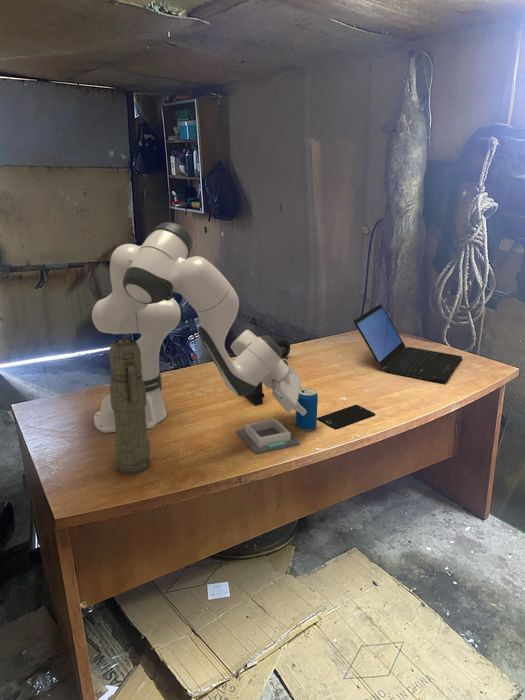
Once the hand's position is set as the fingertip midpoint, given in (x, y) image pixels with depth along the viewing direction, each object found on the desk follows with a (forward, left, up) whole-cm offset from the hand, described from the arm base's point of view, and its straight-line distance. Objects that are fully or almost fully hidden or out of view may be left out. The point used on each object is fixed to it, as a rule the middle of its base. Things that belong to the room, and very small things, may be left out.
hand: (306, 406), depth 162 cm
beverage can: (0, 0, -7) cm, 7 cm away
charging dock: (-14, -2, -7) cm, 16 cm away
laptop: (+66, +34, -8) cm, 75 cm away
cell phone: (+16, +1, -8) cm, 17 cm away
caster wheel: (+16, +57, -7) cm, 60 cm away
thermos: (-53, -1, -7) cm, 53 cm away
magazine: (-7, +27, -7) cm, 29 cm away
